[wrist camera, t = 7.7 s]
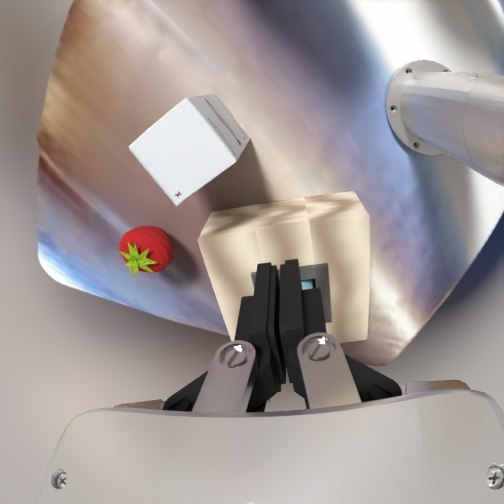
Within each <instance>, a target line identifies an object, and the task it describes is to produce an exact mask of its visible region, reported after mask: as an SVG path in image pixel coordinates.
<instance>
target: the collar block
mask: <svg viewBox="0 0 504 504" xmlns="http://www.w3.org/2000/svg"><path fill="white" fill-rule="evenodd" d="M198 243H199V247H200V250H201V253H202V256H203V259H204V262H205V265H206V268H207V271H208V274H209V277H210V280H211V283H212V286H213V289H214V292H215V295H216V298H217V301H218V303H219V306H220V309H221V312H222V315H223V318H224V321H225V323H226V326H227V329H228V332H229V335H230V337H231V340H232V341H234V338H235V333H236V327H237V321H238V315H239V309H240V304H241V299H242V297H243V296H253V295H254V287H255V279H256V271H257V264H260V263H268V262H271V264H272V265H277V270H278V275H279V280H280V264H285V260H291V259H298V261H299V268H300V275H301V280H307V279H312V282H313V288H320V290H321V296H322V303H323V309H324V316H325V323H326V331H327V333H328V334H331V335H333V336H334V337H336V338H337V339H338V341H339V342H340V343H346V342H353V341H360V340H366V339H367V331H368V315H369V294H370V216H369V215H368V213H367V211H366V210H365V208H364V206H363V205H362V203H361V202H360V200H359V199H358V197H357V195H356V194H355V192H354V191H350V192H342V193H334V194H326V195H319V196H311V197H304V198H297V199H290V200H283V201H276V202H269V203H263V204H256V205H250V206H244V207H238V208H232V209H226V210H220V211H214V212H211V214H210V216H209V218H208V220H207V222H206V224H205V226H204V228H203V230H202V232H201V234H200V236H199V238H198Z"/></svg>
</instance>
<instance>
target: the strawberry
mask: <svg viewBox="0 0 504 504" xmlns="http://www.w3.org/2000/svg"><path fill="white" fill-rule="evenodd" d="M119 252H120V254H121V256H122V257H123V259H124V260H125V261H126V264H125V265H124V266H130V275H131V267H132V277H133V276H134V275H135V274H136V273H137V272H138V271H143V272H152V273H154V272H158V271H161V270H163V269H164V268H165V267H167V266H168V265H169V264H170V262H171V261H172V258H173V245H172V242H171V240H170V239H169V237H168V236H167V234H166V233H165V232H164V231H163V230H162V229H160V228H157V227H154V226H140V227H137V228H134V229H132V230H130V231H128V232H127V233H125V234H124V235H123V237H122V239H121V241H120V244H119Z"/></svg>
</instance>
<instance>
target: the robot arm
mask: <svg viewBox="0 0 504 504" xmlns="http://www.w3.org/2000/svg"><path fill="white" fill-rule="evenodd" d="M406 69H407V70H408V73H406ZM385 106H386V113H387V117H388V121H389V123H390V125H391V128H392V130H393V131H394V133H395V134H396V136H397V137H398V138H399V139H400V140H401V141H402V143H404V144H405V145H406V146H408V147H409V148H410V149H412V150H414V151H416V152H418V153H421V154H424V155H430V156H433V155H441V154H447V155H449V156H450V157H452V158H454V159H456V160H458V161H459V162H461V163H463V164H465V165H466V166H468V167H470V168H471V169H473V170H475V171H477V172H478V173H480V174H481V175H483V176H485V177H487V178H488V179H490V180H492V181H493V182H495V183H497V184H499V185H501V186H504V76H502V75H492V74H480V73H463V72H452V71H451V70H450V69H448V68H447V67H445V66H443V65H442V64H439V63H437V62H434V61H429V60H418V61H412V62H410V63H407V64H405V65H403V66H402V67H401V68H399V69H398V70H397V71H396V72H395V74H394V75H393V76H392V78H391V80H390V82H389V84H388V87H387V91H386V98H385ZM391 106H392V107H393V110H391ZM414 143H415V145H414ZM413 145H414V146H413ZM286 367H287V372H288V377H289V382H290V383H293V387H294V391H295V392H296V393H297V394H299V395H300V396H302V397H303V398H304V399H305V405H306V409H304V410H292V411H276V412H269V408H270V401H271V400H270V398H271V397H272V396H274V395H275V394H276V393H277V392H281V384H285V383H286ZM36 504H504V412H503V410H502V409H501V407H500V406H499V404H498V403H497V402H496V400H494V399H493V398H492V397H491V396H490V395H488V394H486V393H484V392H480V391H476V390H470V388H469V387H468V386H467V384H466V383H463V382H462V381H459V380H444V381H409V382H406V384H398V383H396V382H395V381H394V380H392V379H390V378H388V377H386V376H384V375H383V374H381V373H379V372H377V371H375V370H373V369H371V368H369V367H368V366H366V365H364V364H362V363H360V362H358V361H356V360H355V359H353V358H351V357H349V356H347V355H345V354H344V353H343V350H342V347H341V345H340V342H339V341H338V339H337V338H336V337H334V336H333V335H331V334H328V333H327V331H326V323H325V316H324V309H323V303H322V296H321V290H320V288H312V289H304V290H302V283H301V275H300V268H299V261H298V259H291V260H285V264H280V280H279V275H278V270H277V265H272V264H271V262H268V263H260V264H257V271H256V279H255V287H254V295H253V296H243V297H242V299H241V304H240V309H239V315H238V321H237V327H236V333H235V338H234V341H231V342H228V343H226V344H224V345H223V346H222V347H220V348H219V349H218V351H217V352H216V354H215V357H214V359H213V361H212V364H211V366H210V369H209V370H208V371H207V372H206V373H205V374H203V375H201V376H200V377H198V378H197V379H196V380H194V381H193V382H191V383H190V384H188V385H187V386H185V387H184V388H182V389H181V390H179V391H178V392H176V393H175V394H173V395H172V396H171V397H170V398H168V399H167V401H162V400H161V399H158V400H151V401H144V402H135V403H126V404H120V405H116V406H114V407H113V408H102V409H95V410H91V411H87V412H84V413H82V414H80V415H77V416H76V417H75V418H74V419H72V420H71V422H70V423H69V424H68V425H67V427H66V429H65V430H64V432H63V434H62V436H61V437H60V439H59V441H58V443H57V446H56V448H55V450H54V453H53V455H52V457H51V460H50V462H49V465H48V467H47V470H46V473H45V476H44V479H43V482H42V485H41V488H40V491H39V494H38V497H37V500H36Z"/></svg>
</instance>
